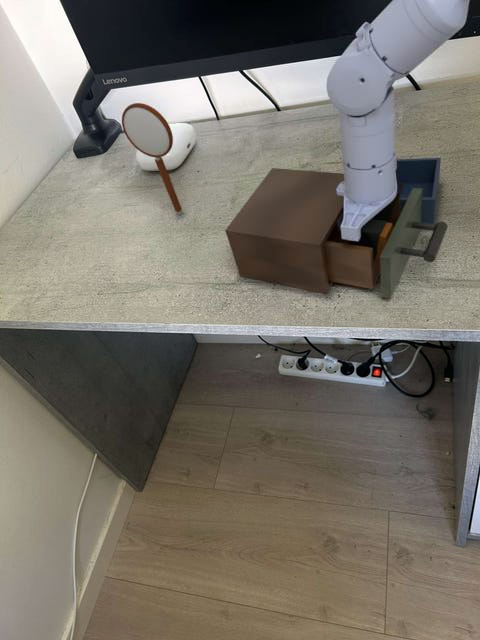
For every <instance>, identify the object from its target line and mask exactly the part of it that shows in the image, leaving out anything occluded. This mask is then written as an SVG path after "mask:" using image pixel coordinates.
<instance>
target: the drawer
mask: <svg viewBox="0 0 480 640" xmlns="http://www.w3.org/2000/svg"><path fill="white" fill-rule="evenodd" d="M421 209H422V189H419V188H413V189H412V191H411V193H410V195H409V197H408V199H407V202H406V204H405V206H404V208H403V210H402V212H401V195H400V197H399V198H398V200H397V202H396V204H395V207H394V211H393V214H392V219H391V223H392V228H393V231H392V233H391V235H390V237H389V239H388V241H387V243H386V245H385V247H384V249H383V251H382V254H381V256H380V260H379V259H375V261H374V262H373V248H370V247H363V246H357V245H351V243H350V242H349V240H346V239H342V236H341V232H340V231H339V230H338V226H337V223H336V225H335V227H334V228H333V230H332V232H331V233H330V235H329V237H328V239H327V240H326V242H325V244H324V246H323V248H324V255H325V262H326V269H327V276H328V281H332V282H334V283H339V284H343V285H349V286H354V287H359V288H364V289H369V290H373V289H374V287H375V285H376V283H377V280H378V279H379V277H380V295H381V296H380V297H381V298H386V299H392V297H393V295H394V293H395V290H396V288H397V285H398V283H399V281H400V279H401V276H402V274H403V272H404V269H405V268H406V265H407V262H408V260H409V258H410V257H417V258H422V259H423V260H424V261H425V262H427V263H432V262H434V261H435V260H436V258H437V256H438V254H439V250H440V249H441V245H442V243H443V240H444V238H445V235H446V233H447V230H448V226H449V225H448V224H447V222H444V221H438V222H436V224H435V223H434V224H428V223H421ZM343 213H344V211H343ZM422 230H424V231H432V233H431V236H430V237H429V241H428V243H427V246H426V247H425V250H422V249H415V248H414V247H415V244H416V242H417V239H418V238H419V235H420V233H421V231H422Z"/></svg>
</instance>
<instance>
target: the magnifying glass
mask: <svg viewBox="0 0 480 640" xmlns="http://www.w3.org/2000/svg"><path fill="white" fill-rule="evenodd" d="M168 124H169V123H168V121H167V120H166V118H165V117H164V116H163V115H162V114H161V113H160V112H159V111H158V110H157V109H155V108H154V107H152V106H151V105H149V104H147V103H146V104H145V103H142V102H135V103H132V104H129V105H128V106H126V107H125V109H124V110H123V112H122V116H121V125H122V131H123V132H124V135H125V136H126V138H127V140H128V141H129V143H131V145H132V146H133V147H134V148H135V149H136V150H137V149H138V150H139V151H140V152H142V153H143V154H145V155H148V156H150V157H155V158H156V159H155V162H156V165H157V167H158V169H159V171H158V172H159V175H160V177H161V179H162V181H163V184H164V186H165V189H166V192H167V194H168V197H169V199H170V201H171V204H172V206H173V209H174V211H175V212H176V213H177V215H178V216H181V215H182V214H183V211H182V208H183V207H182V206H181V205H182V204H181V203H180V201H179V198H178V196H177V192H176V190H175V188H174V185H173V182H172V180H171V177H170V175H169V171H168V170H166V167H165V165H164V162H163V159H162V157H163V156H165V155H166V154H168V153H169V151H170V150H171V148H172V145H173V136H172V131H171V129H170V126H169V125H168Z"/></svg>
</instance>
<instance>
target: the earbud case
mask: <svg viewBox="0 0 480 640" xmlns="http://www.w3.org/2000/svg"><path fill="white" fill-rule="evenodd" d="M168 125H169V126H170V129H171V131H172V136H173V145H172V148H171V150H170V151H169V153H168V154H166V155H165V156H163V157H162V159H163V162H164V165H165V167H166V170H167V171H173V170H175V169H177V168H179V167H180V166H181V165H182V164H183V162H184V161H185V160H186V158H187V157H188V155H189V154H190V152H191V151H192V149H193V148H194V146H195V145H196V141H197V134H196V130H195V129H194V127H193V125H191V124H189V123H187V122H186V123H185V122H184V123H183V122H176V123H168ZM155 159H156V158H155V157H150V156H148V155H145V154H143V153H142V152H140V151H139V150H138V149H136V152H135V160H136V164H137V165H138V167H139V168H140V169H141V170H143V171H147V172H159V169H158V167H157V165H156V162H155Z"/></svg>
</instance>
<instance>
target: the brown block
mask: <svg viewBox="0 0 480 640" xmlns="http://www.w3.org/2000/svg"><path fill="white" fill-rule="evenodd" d="M392 231H393V228H392V223H386V225H385V227H384V229H383V231H382V233H381V234H380V238H379V242H378V250H377V255H376V258H375V259H379V260H380V256H381V254H382V251H383V249H384V247H385V245H386V243H387V241H388V239H389V237H390V235H391V233H392Z"/></svg>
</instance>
